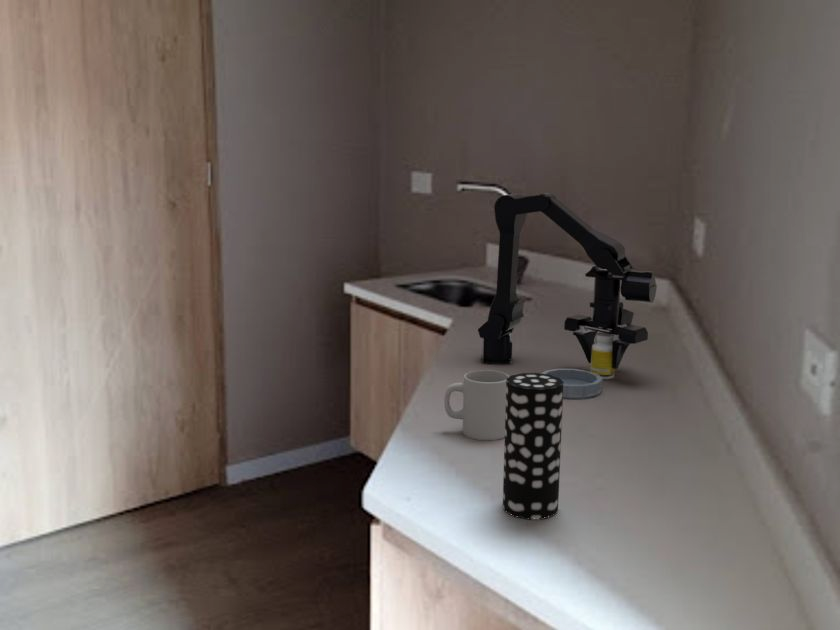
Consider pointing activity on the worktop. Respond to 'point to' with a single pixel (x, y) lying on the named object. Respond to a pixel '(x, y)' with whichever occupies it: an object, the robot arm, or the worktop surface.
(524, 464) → the white-spotted black cylinder
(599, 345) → the supplement bottle
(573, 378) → the round dish
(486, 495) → the worktop surface
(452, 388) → the mug
